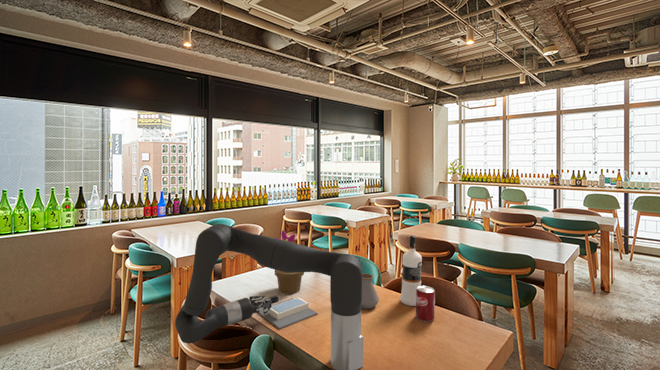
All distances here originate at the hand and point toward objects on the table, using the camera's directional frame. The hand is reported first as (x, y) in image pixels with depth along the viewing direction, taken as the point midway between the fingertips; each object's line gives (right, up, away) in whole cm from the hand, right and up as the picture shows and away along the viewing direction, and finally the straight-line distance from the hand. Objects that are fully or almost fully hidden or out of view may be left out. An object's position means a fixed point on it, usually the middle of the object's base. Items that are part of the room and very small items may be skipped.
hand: (277, 298), depth 124 cm
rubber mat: (+3, -7, +3) cm, 9 cm away
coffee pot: (+32, -7, +14) cm, 36 cm away
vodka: (+57, -7, +15) cm, 59 cm away
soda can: (+59, -8, 0) cm, 60 cm away
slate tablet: (-2, -6, -1) cm, 6 cm away
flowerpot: (+1, -6, +27) cm, 28 cm away
